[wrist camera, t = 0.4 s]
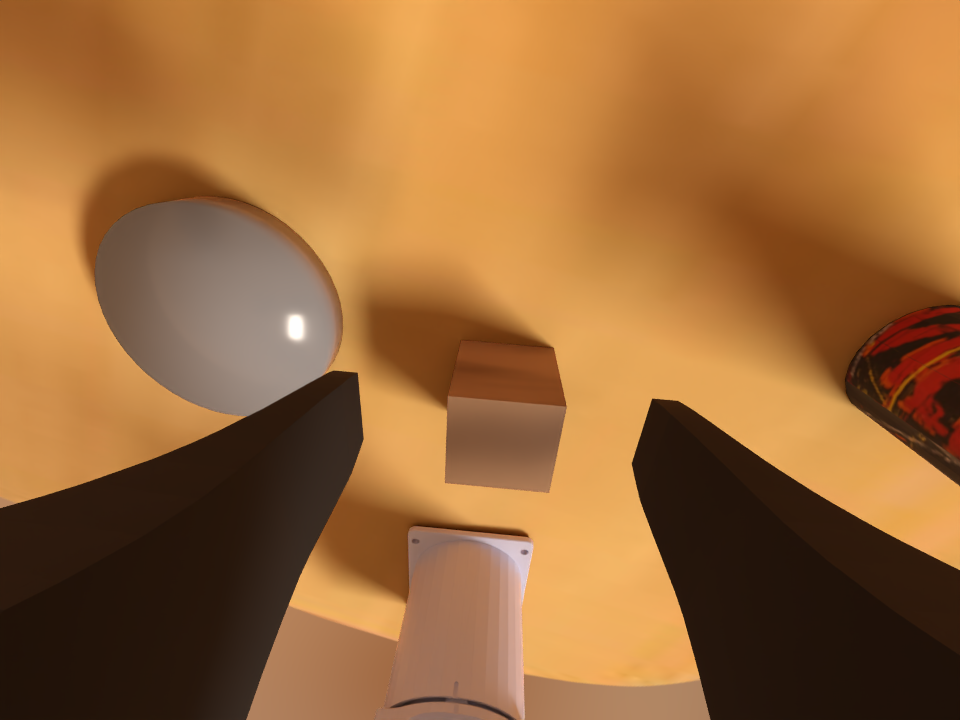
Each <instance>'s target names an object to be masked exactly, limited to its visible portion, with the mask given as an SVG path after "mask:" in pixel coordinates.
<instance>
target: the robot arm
mask: <svg viewBox="0 0 960 720" xmlns="http://www.w3.org/2000/svg"><path fill="white" fill-rule="evenodd" d="M362 442H363V428H362V416H361V405H360V394H359V382H358V373H354V372H343V371H331V372H329V373H327V374H325V375H323V376H321V377H319V378H317V379H315V380H314V381H312V382H310V383H308V384H306V385H305V386H303V387H301V388H299V389H297V390H296V391H294V392H292V393H290V394H288V395H287V396H285V397H283V398H281V399H279V400H278V401H276V402H274V403H272V404H270V405H269V406H267V407H265V408H263V409H261V410H259V411H257V412H255V413H253V414H251V415H249V416H247V417H245V418H243V419H241V420H239V421H237V422H235V423H233V424H231V425H229V426H227V427H225V428H223V429H222V430H220V431H217V432H215V433H213V434H211V435H209V436H207V437H204V438H202V439H200V440H198V441H195V442H193V443H191V444H188V445H186V446H184V447H181V448H179V449H176V450H174V451H172V452H169V453H167V454H164V455H162V456H159V457H157V458H154V459H152V460H149V461H146V462H143V463H140V464H138V465H135V466H132V467H129V468H126V469H124V470H121V471H118V472H115V473H112V474H109V475H107V476H104V477H101V478H98V479H95V480H92V481H90V482H87V483H84V484H81V485H77V486H74V487H71V488H68V489H65V490H61V491H58V492H55V493H52V494H48V495H45V496H42V497H38V498H35V499H31V500H28V501H24V502H21V503H17V504H14V505H10V506H7V507H3V508H0V720H246V718H247V716H248V713H249V710H250V707H251V704H252V701H253V699H254V695H255V693H256V690H257V687H258V684H259V681H260V679H261V675H262V673H263V670H264V668H265V665H266V662H267V659H268V657H269V654H270V651H271V649H272V646H273V644H274V641H275V638H276V636H277V633H278V630H279V628H280V625H281V622H282V620H283V617H284V615H285V612H286V609H287V607H288V605H289V602H290V600H291V597H292V595H293V592H294V590H295V587H296V585H297V582H298V580H299V577H300V575H301V573H302V570H303V568H304V566H305V564H306V562H307V560H308V558H309V555H310V554H311V552H312V550H313V548H314V546H315V544H316V542H317V540H318V538H319V536H320V534H321V532H322V530H323V528H324V526H325V525H326V523H327V521H328V519H329V517H330V515H331V513H332V511H333V509H334V507H335V505H336V503H337V501H338V499H339V497H340V495H341V493H342V491H343V489H344V487H345V485H346V484H347V481H348V479H349V477H350V475H351V473H352V470H353V468H354V465H355V462H356V460H357V457H358V454H359V451H360V448H361V445H362ZM632 467H633V472H634V476H635V481H636V485H637V489H638V493H639V498H640V501H641V504H642V507H643V510H644V512H645V515H646V518H647V520H648V523H649V526H650V528H651V531H652V534H653V536H654V539H655V541H656V544H657V547H658V549H659V552H660V554H661V557H662V560H663V562H664V565H665V567H666V570H667V572H668V575H669V578H670V580H671V583H672V585H673V588H674V591H675V593H676V596H677V599H678V602H679V605H680V608H681V611H682V614H683V617H684V621H685V624H686V628H687V632H688V635H689V639H690V642H691V646H692V649H693V653H694V657H695V660H696V664H697V668H698V672H699V676H700V680H701V684H702V687H703V691H704V695H705V699H706V703H707V707H708V711H709V715H710V719H711V720H960V570H958V569H956V568H954V567H952V566H950V565H948V564H946V563H944V562H942V561H940V560H938V559H936V558H934V557H932V556H930V555H928V554H926V553H924V552H922V551H920V550H918V549H916V548H914V547H912V546H910V545H908V544H906V543H904V542H902V541H900V540H898V539H896V538H894V537H892V536H891V535H889V534H887V533H885V532H883V531H881V530H879V529H877V528H876V527H874V526H872V525H870V524H868V523H867V522H865V521H863V520H861V519H859V518H858V517H856V516H854V515H852V514H851V513H849V512H847V511H845V510H844V509H842V508H840V507H838V506H837V505H835V504H833V503H831V502H830V501H828V500H826V499H825V498H823V497H821V496H820V495H818V494H816V493H815V492H813V491H811V490H810V489H808V488H807V487H805V486H803V485H802V484H800V483H799V482H797V481H796V480H794V479H793V478H791V477H789V476H788V475H786V474H785V473H783V472H782V471H780V470H778V469H777V468H775V467H774V466H773V465H771V464H770V463H768V462H767V461H765V460H764V459H762V458H761V457H759V456H758V455H756V454H755V453H753V452H752V451H750V450H749V449H748V448H746V447H745V446H743V445H742V444H740V443H739V442H738V441H736V440H735V439H733V438H732V437H731V436H729V435H728V434H726V433H725V432H724V431H722V430H721V429H719V428H718V427H717V426H715V425H714V424H712V423H711V422H709V421H708V420H707V419H705V418H704V417H702V416H701V415H699V414H698V413H697V412H695V411H694V410H692V409H690V408H689V407H687V406H686V405H684V404H682V403H681V402H679V401H673V400H661V399H652V401H651V404H650V407H649V411H648V414H647V417H646V420H645V423H644V427H643V430H642V433H641V436H640V439H639V442H638V446H637V449H636V452H635V455H634V458H633V462H632ZM532 551H533V541H532V539H530V538H529V537H522V536H512V535H502V534H492V533H482V532H471V531H461V530H451V529H441V528H431V527H421V526H413V527H411V528H410V529H409V532H408V559H409V596H408V600H407V605H406V609H405V614H404V618H403V623H402V627H401V632H400V636H399V641H398V645H397V650H396V654H395V659H394V663H393V668H392V672H391V677H390V681H389V686H388V690H387V695H386V699H385V704H384V708H377V710H376V715H375V719H374V720H525V712H524V678H523V677H524V674H523V637H522V602H523V597H524V592H525V587H526V582H527V577H528V572H529V567H530V562H531V557H532Z"/></svg>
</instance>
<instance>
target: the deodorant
mask: <svg viewBox="0 0 960 720" xmlns="http://www.w3.org/2000/svg"><path fill="white" fill-rule="evenodd" d="M845 382H846V393H847V395H848V397H849V399H850V401H851V403H852V404H853V405H855V406H856V407H857V408H858V409H859V410H861V411H862V412H863V413H865V414H866V415H867V416H869V417H870V418H871V419H872V420H874V421H875V422H876V423H878V424H879V425H880V426H882V427H883V428H884V429H886V430H887V431H888V432H890V433H891V434H892V435H893V436H895V437H896V438H897V439H899V440H900V441H901V442H903V443H904V444H905V445H907V446H908V447H909V448H911V449H912V450H913V451H915V452H916V453H917V454H918V455H920V456H921V457H922V458H924V459H925V460H926V461H928V462H929V463H930V464H932V465H933V466H934V467H936V468H937V469H938V470H939V471H941V472H942V473H943V474H945V475H946V476H947V477H949V478H950V479H951V480H953V481H954V482H955V483H957V484H958V485H959V486H960V306H954V305H946V306H937V307H929V308H926V309H923V310H919V311H916V312H913V313H910V314H907V315H905V316H903V317H901V318H900V319H898V320H896V321H894V322H892V323H890V324H888V325H887V326H885V327H884V328H883V329H881V330H880V331H879V332H877V333H876V334H875V335H873V336H872V337H871V338H870V339H869V340H868V341H867V342H866V343H865V344H864V345H863V346H862V347H861V348H860V349H859V351H858V352H857V354H856V355H855V357H854V359H853V360H852V362H851V364H850V365H849V368H848V372H847V375H846V379H845Z"/></svg>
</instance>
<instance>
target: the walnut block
mask: <svg viewBox="0 0 960 720" xmlns="http://www.w3.org/2000/svg"><path fill="white" fill-rule="evenodd" d="M566 408H567V406H566V401H565V397H564V392H563V388H562V383H561V379H560V374H559V370H558V365H557V361H556V356H555V351H554V348H548V347H537V346H525V345H514V344H502V343H491V342H479V341H468V340H461V343H460V347H459V351H458V355H457V360H456V364H455V368H454V372H453V376H452V381H451V385H450V389H449V393H448V406H447V436H446V466H445V483H451V484H461V485H472V486H483V487H493V488H504V489H514V490H525V491H535V492H546V493H549V491H550V486H551V481H552V476H553V471H554V466H555V461H556V457H557V452H558V447H559V442H560V437H561V432H562V427H563V422H564V417H565V413H566Z"/></svg>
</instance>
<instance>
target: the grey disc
mask: <svg viewBox="0 0 960 720" xmlns="http://www.w3.org/2000/svg"><path fill="white" fill-rule="evenodd" d="M95 286H96V291H97V296H98V300H99V303H100V306H101V309H102V312H103V315H104V317H105V319H106V321H107V323H108V325H109V327H110V329H111V331H112V332H113V334H114V336H115V337H116V339H117V340H118V342H119V343H120V345H121V346H122V347H123V349H124V350H125V351H126V353H127V354H128V355H129V356H130V357H131V358H132V359H133V360H134V362H135V363H136V364H137V365H138V366H139V367H140V368H141V369H142V370H144V371H145V372H146V373H147V374H148V375H149V376H150V377H152V378H153V379H154V380H155V381H157V382H158V383H159V384H160V385H162V386H163V387H165V388H166V389H168V390H169V391H171V392H172V393H174V394H176V395H178V396H180V397H181V398H183V399H185V400H187V401H189V402H191V403H194V404H196V405H198V406H201V407H204V408H207V409H209V410H212V411H216V412H220V413H225V414H231V415H238V416H249V415H251V414H253V413H255V412H257V411H259V410H261V409H263V408H265V407H267V406H269V405H270V404H272V403H274V402H276V401H278V400H279V399H281V398H283V397H285V396H287V395H288V394H290V393H292V392H294V391H296V390H297V389H299V388H301V387H303V386H305V385H306V384H308V383H310V382H312V381H314V380H315V379H317V378H319V377H321V376H323V375H324V374H325V373H326V371H327V370H328V369H329V367H330V366H331V364H332V363H333V362H334V360H335V358H336V356H337V353H338V351H339V348H340V344H341V341H342V333H343V315H342V310H341V304H340V300H339V297H338V294H337V290H336V288H335V286H334V283H333V281H332V279H331V277H330V275H329V273H328V271H327V270H326V268H325V266H324V265H323V263H322V262H321V260H320V259H319V258H318V256H317V255H316V254H315V252H314V251H313V250H312V249H311V248H310V246H309V245H308V244H307V243H306V242H305V241H304V240H303V239H302V238H301V237H300V236H299V235H298V234H297V233H295V232H294V231H293V230H292V229H291V228H290V227H288V226H287V225H286V224H284V223H283V222H281V221H280V220H278V219H277V218H276V217H274V216H272V215H270V214H268V213H267V212H265V211H263V210H261V209H259V208H257V207H254V206H252V205H249V204H247V203H244V202H241V201H237V200H233V199H230V198H223V197H216V196H198V197H191V198H184V199H179V200H173V201H167V202H161V203H155V204H149V205H146V206H143V207H140V208H137V209H135V210H133V211H131V212H129V213H127V214H126V215H124V216H122V217H121V218H120V219H119V220H118V221H116V222H115V223H114V224H113V225H112V226H111V228H110V229H109V230H108V232H107V233H106V234H105V236H104V238H103V240H102V242H101V244H100V246H99V249H98V253H97V257H96V263H95Z"/></svg>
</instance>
